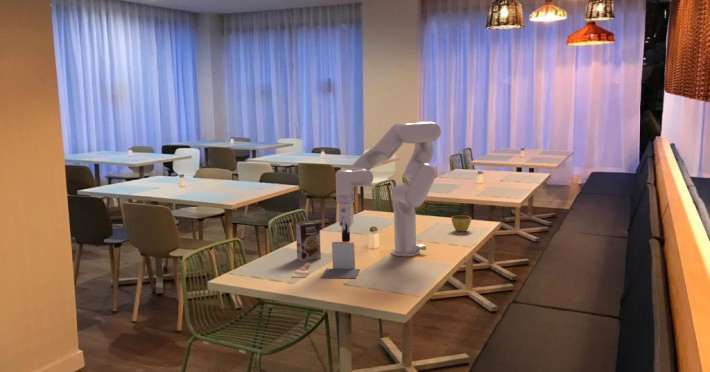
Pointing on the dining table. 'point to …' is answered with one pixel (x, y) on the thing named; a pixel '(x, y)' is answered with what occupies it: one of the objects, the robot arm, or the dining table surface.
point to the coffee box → (308, 240)
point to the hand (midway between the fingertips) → (346, 241)
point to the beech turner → (302, 272)
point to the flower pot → (461, 222)
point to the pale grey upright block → (343, 255)
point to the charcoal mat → (341, 273)
